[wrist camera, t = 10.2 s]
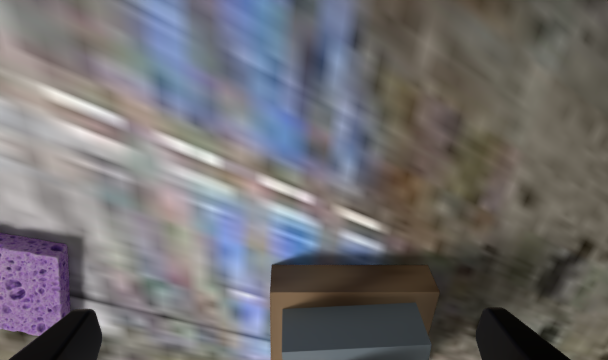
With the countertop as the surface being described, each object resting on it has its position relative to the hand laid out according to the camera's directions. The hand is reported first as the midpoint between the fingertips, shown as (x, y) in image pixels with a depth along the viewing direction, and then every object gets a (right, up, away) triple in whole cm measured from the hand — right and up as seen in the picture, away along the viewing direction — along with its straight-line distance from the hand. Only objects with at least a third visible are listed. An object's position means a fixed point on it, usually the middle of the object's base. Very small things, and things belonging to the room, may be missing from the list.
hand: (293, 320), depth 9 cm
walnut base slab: (+3, -6, +19) cm, 20 cm away
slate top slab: (+3, -8, +17) cm, 19 cm away
